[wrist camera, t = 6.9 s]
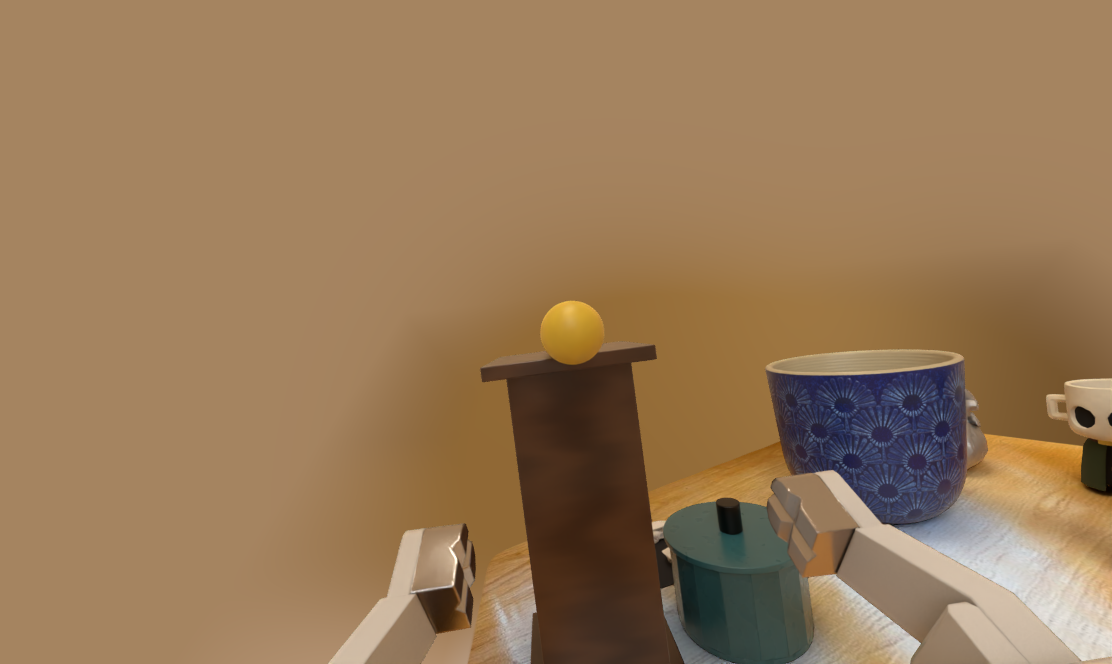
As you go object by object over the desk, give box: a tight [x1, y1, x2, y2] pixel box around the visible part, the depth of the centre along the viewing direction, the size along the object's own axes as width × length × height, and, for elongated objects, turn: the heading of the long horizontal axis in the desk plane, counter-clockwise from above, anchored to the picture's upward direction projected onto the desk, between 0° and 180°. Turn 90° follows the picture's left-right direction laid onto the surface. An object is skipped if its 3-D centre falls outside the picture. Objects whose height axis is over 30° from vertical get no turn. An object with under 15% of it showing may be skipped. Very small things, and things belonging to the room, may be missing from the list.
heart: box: [965, 389, 988, 469], centre depth 63 cm, size 10×10×12 cm
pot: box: [670, 550, 814, 664], centre depth 38 cm, size 11×11×8 cm
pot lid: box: [663, 498, 794, 574], centre depth 38 cm, size 12×12×4 cm
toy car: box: [652, 521, 671, 563], centre depth 51 cm, size 8×6×2 cm
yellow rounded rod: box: [540, 301, 604, 365], centre depth 30 cm, size 22×3×3 cm, turn 1°
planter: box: [766, 350, 967, 524], centre depth 54 cm, size 21×21×19 cm
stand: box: [480, 341, 684, 664], centre depth 34 cm, size 12×12×26 cm
